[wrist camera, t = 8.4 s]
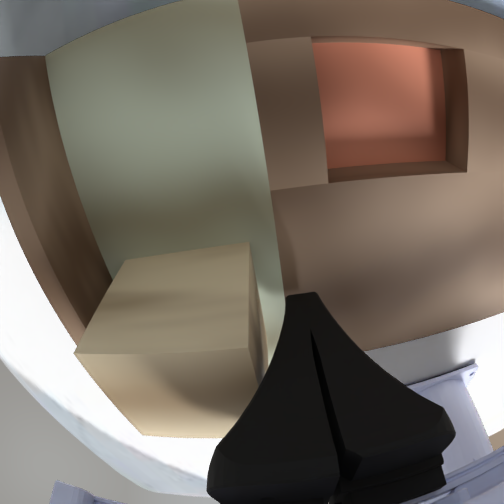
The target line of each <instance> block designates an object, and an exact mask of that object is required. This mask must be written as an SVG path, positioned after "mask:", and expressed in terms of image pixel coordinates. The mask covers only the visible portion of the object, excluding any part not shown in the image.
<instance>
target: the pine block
mask: <svg viewBox="0 0 504 504" xmlns="http://www.w3.org/2000/svg"><path fill="white" fill-rule="evenodd" d="M74 355H75V356H76V357H77V359H78V360H79V361H80V363H81V364H82V365H83V367H84V368H85V369H86V371H87V372H88V373H89V375H90V376H91V377H92V378H93V380H94V381H95V382H96V384H97V385H98V386H99V387H100V388H101V390H102V391H103V392H104V393H105V394H106V396H107V397H108V398H109V399H110V400H111V402H112V403H113V404H114V405H115V406H116V407H117V408H118V410H119V411H120V412H121V413H122V414H123V415H124V416H125V417H126V418H127V419H128V421H129V422H130V423H131V424H132V425H133V426H134V427H135V428H136V429H137V430H138V431H139V432H140V433H141V434H142V435H146V436H159V437H177V438H224V437H225V435H226V434H227V433H228V432H229V431H230V429H231V428H232V427H233V426H234V424H235V423H236V422H237V420H238V419H239V418H240V416H241V415H242V413H243V412H244V410H245V409H246V407H247V406H248V404H249V403H250V401H251V399H252V398H253V396H254V394H255V393H256V391H257V389H258V387H259V385H260V383H261V382H262V380H263V378H264V376H265V373H266V371H267V369H268V367H269V366H268V346H267V335H266V329H265V324H264V318H263V313H262V308H261V302H260V297H259V292H258V286H257V281H256V275H255V270H254V265H253V259H252V254H251V248H250V243H249V242H244V243H237V244H230V245H223V246H216V247H209V248H202V249H195V250H188V251H181V252H175V253H168V254H161V255H154V256H148V257H141V258H135V259H128V260H125V261H124V263H123V265H122V266H121V268H120V270H119V271H118V273H117V275H116V276H115V278H114V280H113V281H112V283H111V285H110V287H109V288H108V290H107V292H106V293H105V295H104V297H103V299H102V301H101V302H100V304H99V306H98V308H97V310H96V311H95V313H94V315H93V317H92V319H91V321H90V322H89V324H88V326H87V328H86V330H85V332H84V334H83V336H82V338H81V340H80V342H79V344H78V346H77V348H76V350H75V352H74Z"/></svg>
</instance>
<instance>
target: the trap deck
mask: <svg viewBox="0 0 504 504" xmlns="http://www.w3.org/2000/svg"><path fill="white" fill-rule="evenodd" d="M0 196H1V199H2V202H3V204H4V207H5V210H6V212H7V215H8V217H9V220H10V222H11V225H12V227H13V230H14V232H15V234H16V237H17V239H18V241H19V243H20V246H21V248H22V250H23V252H24V254H25V256H26V258H27V261H28V263H29V265H30V267H31V269H32V271H33V273H34V274H35V276H36V278H37V280H38V282H39V284H40V286H41V288H42V289H43V291H44V293H45V295H46V297H47V298H48V300H49V302H50V304H51V305H52V307H53V309H54V310H55V312H56V314H57V315H58V317H59V319H60V320H61V322H62V324H63V325H64V327H65V328H66V330H67V331H68V333H69V334H70V336H71V337H72V339H73V340H74V342H75V343H76V345H77V346H78V344H79V342H80V340H81V338H82V336H83V334H84V332H85V330H86V328H87V326H88V324H89V322H90V321H91V319H92V317H93V315H94V313H95V311H96V310H97V308H98V306H99V304H100V302H101V301H102V299H103V297H104V295H105V293H106V292H107V290H108V288H109V287H110V285H111V283H112V281H113V280H114V278H115V276H116V275H117V273H118V271H119V270H120V268H121V266H122V265H123V263H124V261H125V260H128V259H135V258H141V257H148V256H154V255H161V254H168V253H175V252H181V251H188V250H195V249H202V248H209V247H216V246H223V245H230V244H237V243H244V242H249V243H250V248H251V254H252V259H253V265H254V270H255V275H256V281H257V286H258V292H259V297H260V302H261V308H262V313H263V318H264V324H265V329H266V335H267V346H268V366H269V364H270V362H271V360H272V357H273V354H274V351H275V349H276V346H277V343H278V340H279V336H280V332H281V329H282V325H283V320H284V314H285V304H286V302H285V298H286V297H287V296H288V295H294V294H301V293H308V292H314V291H315V292H316V293H318V295H319V297H320V299H321V300H322V302H323V303H324V305H325V306H326V308H327V309H328V311H329V312H330V314H331V315H332V316H333V318H334V319H335V320H336V321H337V323H338V324H339V325H340V326H341V328H342V329H343V330H344V331H345V332H346V334H347V335H348V336H349V337H350V338H351V339H352V340H353V341H354V342H355V343H356V344H357V346H358V347H359V348H360V349H361V350H362V351H368V350H373V349H377V348H382V347H386V346H391V345H395V344H399V343H403V342H407V341H411V340H415V339H419V338H423V337H427V336H430V335H434V334H438V333H441V332H445V331H448V330H451V329H455V328H458V327H461V326H464V325H468V324H471V323H474V322H477V321H480V320H483V319H486V318H488V317H491V316H494V315H497V314H500V313H502V312H504V19H502V18H500V17H497V16H495V15H492V14H490V13H487V12H484V11H481V10H478V9H475V8H472V7H469V6H466V5H463V4H460V3H456V2H453V1H449V0H181V1H177V2H173V3H169V4H166V5H162V6H159V7H156V8H153V9H150V10H146V11H143V12H140V13H138V14H135V15H132V16H129V17H126V18H124V19H121V20H119V21H116V22H113V23H111V24H109V25H106V26H104V27H101V28H99V29H97V30H95V31H92V32H90V33H88V34H86V35H84V36H82V37H80V38H77V39H75V40H73V41H71V42H69V43H68V44H66V45H64V46H62V47H60V48H58V49H56V50H54V51H53V52H51V53H49V54H47V55H46V56H10V57H0Z"/></svg>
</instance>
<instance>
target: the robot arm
mask: <svg viewBox="0 0 504 504" xmlns="http://www.w3.org/2000/svg"><path fill="white" fill-rule="evenodd" d="M285 302H286V304H285V314H284V320H283V325H282V329H281V332H280V336H279V340H278V343H277V346H276V349H275V351H274V354H273V357H272V360H271V362H270V364H269V367H268V369H267V371H266V373H265V376H264V378H263V380H262V382H261V383H260V385H259V387H258V389H257V391H256V393H255V394H254V396H253V398H252V399H251V401H250V403H249V404H248V406H247V407H246V409H245V410H244V412H243V413H242V415H241V416H240V418H239V419H238V420H237V422H236V423H235V424H234V426H233V427H232V428H231V429H230V431H229V432H228V433H227V434H226V435H225V437H224V438H223V439H222V440H221V441H220V443H219V444H218V445H217V446H216V449H215V451H214V454H213V456H212V459H211V463H210V466H209V471H208V477H207V493H208V494H209V495H210V496H211V497H212V498H214V499H215V500H216V501H218V502H219V503H220V504H328V502H329V504H504V446H502V447H501V448H499V449H497V450H495V451H493V448H492V445H491V443H490V440H489V438H488V435H487V433H486V430H485V428H484V425H483V423H482V421H481V418H480V416H479V414H478V412H477V409H476V407H475V405H474V403H473V401H472V398H471V396H470V394H469V392H468V390H467V386H468V385H469V383H470V381H471V380H472V378H473V376H474V374H475V373H476V371H477V369H478V366H477V364H472V365H470V366H467V367H464V368H462V369H459V370H456V371H453V372H451V373H448V374H445V375H442V376H439V377H436V378H433V379H429V380H426V381H423V382H420V383H416V384H413V385H409V386H405V385H404V384H403V383H401V382H400V381H398V380H397V379H396V378H394V377H393V376H392V375H390V374H389V373H387V372H386V371H385V370H384V369H382V368H381V367H380V366H379V365H378V364H377V363H375V362H374V361H373V360H372V359H371V358H370V357H369V356H368V355H367V354H365V353H364V352H363V351H362V350H361V349H360V348H359V347H358V346H357V344H356V343H355V342H354V341H353V340H352V339H351V338H350V337H349V336H348V335H347V334H346V332H345V331H344V330H343V329H342V328H341V326H340V325H339V324H338V323H337V321H336V320H335V319H334V318H333V316H332V315H331V314H330V312H329V311H328V309H327V308H326V306H325V305H324V303H323V302H322V300H321V299H320V297H319V295H318V293H316V292H315V291H314V292H308V293H301V294H294V295H288V296H287V297H286V298H285ZM49 504H126V503H121V502H117V501H113V500H109V499H105V498H101V497H97V496H94V495H93V494H92V493H90V492H88V491H86V490H84V489H82V488H79V487H76V486H73V485H70V484H67V483H64V482H61V481H58V480H56V481H55V484H54V487H53V491H52V495H51V500H50V503H49Z"/></svg>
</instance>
